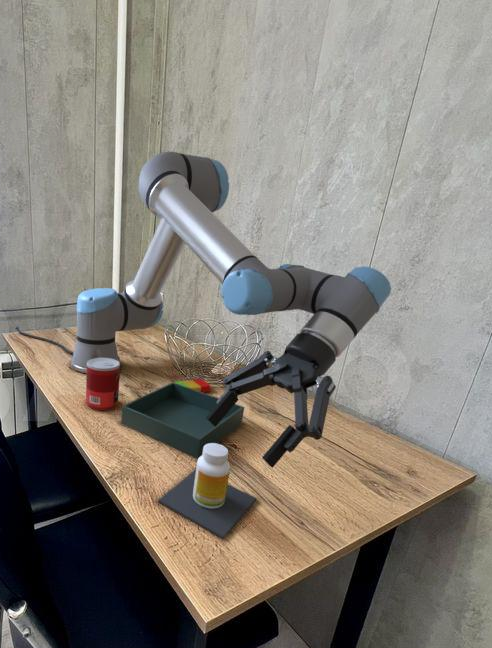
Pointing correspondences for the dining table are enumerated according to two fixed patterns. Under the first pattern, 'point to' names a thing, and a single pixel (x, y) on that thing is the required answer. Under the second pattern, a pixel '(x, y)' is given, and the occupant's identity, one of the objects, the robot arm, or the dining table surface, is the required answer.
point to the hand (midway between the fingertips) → (236, 441)
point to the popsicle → (196, 385)
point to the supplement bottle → (211, 476)
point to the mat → (209, 519)
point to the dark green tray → (180, 418)
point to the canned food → (102, 383)
